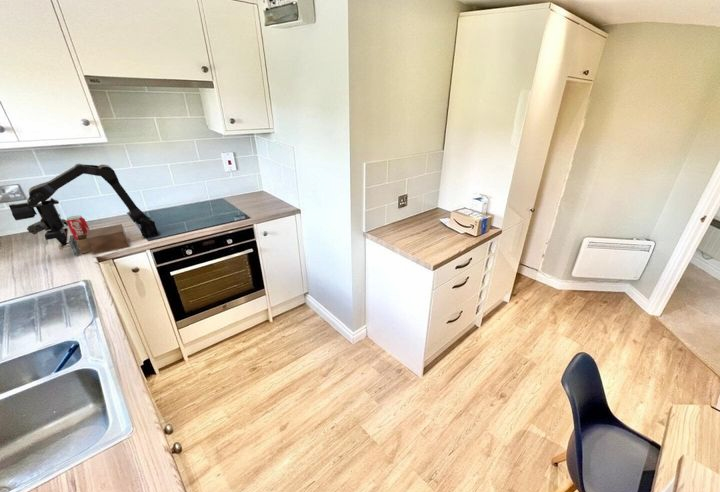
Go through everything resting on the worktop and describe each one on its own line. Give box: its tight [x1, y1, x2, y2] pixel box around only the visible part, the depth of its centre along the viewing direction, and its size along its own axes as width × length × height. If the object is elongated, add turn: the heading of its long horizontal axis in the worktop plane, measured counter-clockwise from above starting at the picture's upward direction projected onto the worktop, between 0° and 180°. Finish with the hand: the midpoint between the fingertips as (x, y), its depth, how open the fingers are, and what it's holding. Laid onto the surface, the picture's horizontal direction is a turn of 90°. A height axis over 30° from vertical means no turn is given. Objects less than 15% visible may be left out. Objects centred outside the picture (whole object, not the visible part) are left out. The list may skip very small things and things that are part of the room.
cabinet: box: [86, 223, 130, 255], centre depth 161 cm, size 14×12×9 cm
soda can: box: [66, 215, 91, 241], centre depth 167 cm, size 7×7×12 cm
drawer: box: [58, 233, 93, 257], centre depth 156 cm, size 17×10×7 cm, turn 130°
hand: (65, 245), depth 151 cm, fingers closed
